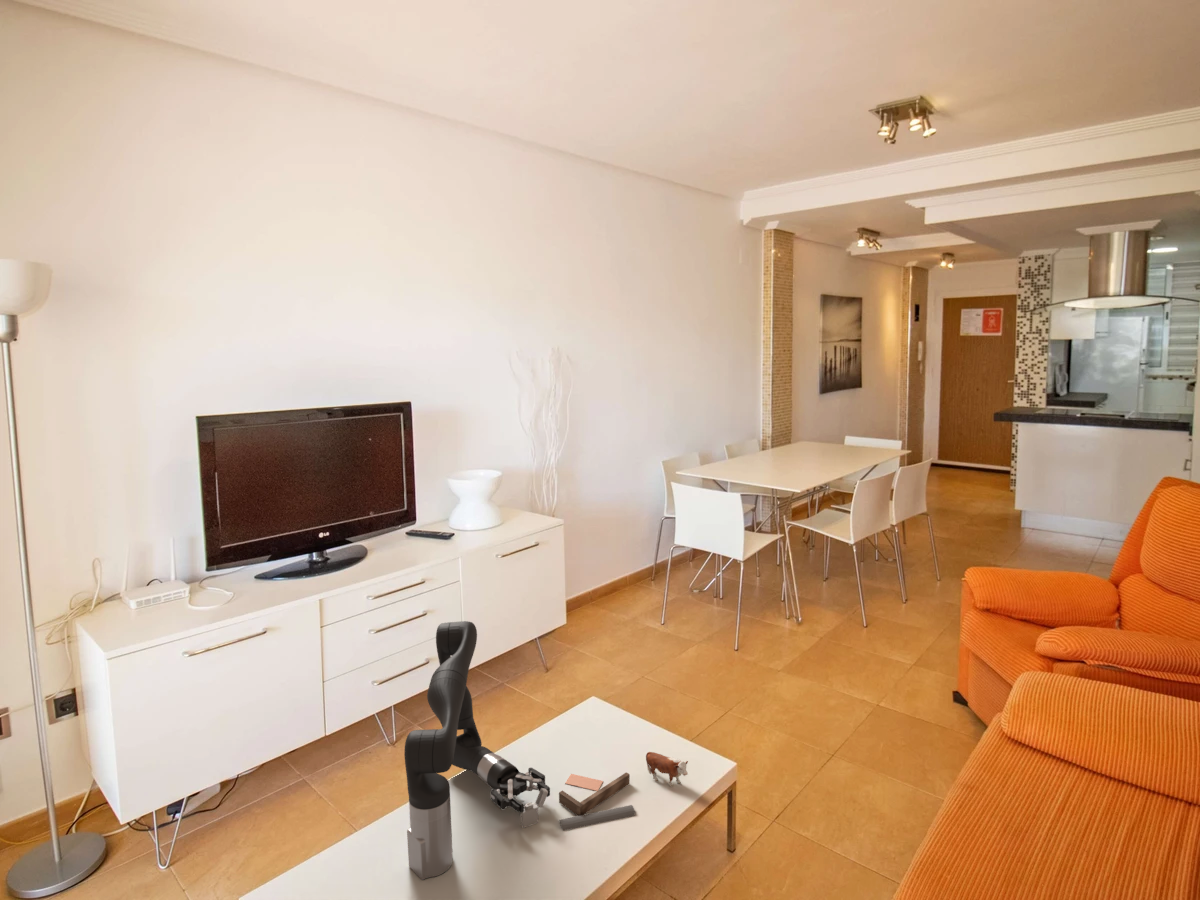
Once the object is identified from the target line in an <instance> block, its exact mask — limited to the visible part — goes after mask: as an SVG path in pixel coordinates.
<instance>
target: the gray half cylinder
mask: <svg viewBox="0 0 1200 900" xmlns="http://www.w3.org/2000/svg"><path fill="white" fill-rule="evenodd" d="M635 815H636V813H635V807H634V805H632V804H629V805H624V806H619V807H615V808H610V809H609V808H608V809H604V810H600V811H595V812H591V813H589V812H588V813H586V814H584V815H580V816H577V815H575V816H570V817H565V818H561V819H559V821H558V822H559V824H560V828H561V829H562V832H563V831H570V830H573V829H580V828H584V827H588V826H594V825H598V824H603V823H608V822H611V821H612V822H613V821H618V820H621V819H622V820H623V819H627V818H631V817H635Z"/></svg>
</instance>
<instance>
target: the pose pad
mask: <svg viewBox="0 0 1200 900" xmlns="http://www.w3.org/2000/svg"><path fill="white" fill-rule="evenodd" d="M603 783H604V781H603V780H600V779H596V778H591V777H589V776H583V775H579V774H574V773H570V775H569V776H568V778H567V779H566V781H565V785H569V786H573V787H578V788H581V789H582V788H583V789H585V790H590V791H594V792H597V791H598V790H600V789H601V787H602V785H603Z"/></svg>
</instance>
